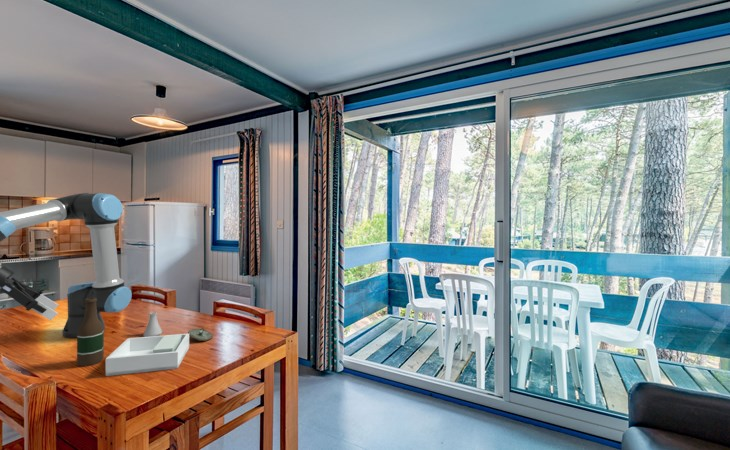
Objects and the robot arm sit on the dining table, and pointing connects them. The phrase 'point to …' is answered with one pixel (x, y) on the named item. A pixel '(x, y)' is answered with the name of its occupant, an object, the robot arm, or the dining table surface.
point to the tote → (144, 356)
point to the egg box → (168, 344)
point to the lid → (200, 334)
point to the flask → (153, 326)
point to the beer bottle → (90, 336)
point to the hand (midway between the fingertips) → (55, 312)
